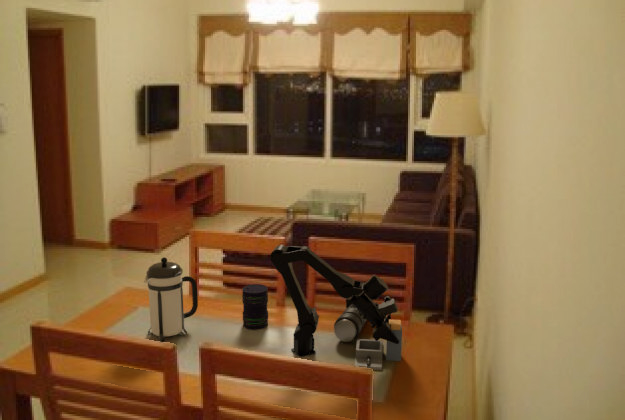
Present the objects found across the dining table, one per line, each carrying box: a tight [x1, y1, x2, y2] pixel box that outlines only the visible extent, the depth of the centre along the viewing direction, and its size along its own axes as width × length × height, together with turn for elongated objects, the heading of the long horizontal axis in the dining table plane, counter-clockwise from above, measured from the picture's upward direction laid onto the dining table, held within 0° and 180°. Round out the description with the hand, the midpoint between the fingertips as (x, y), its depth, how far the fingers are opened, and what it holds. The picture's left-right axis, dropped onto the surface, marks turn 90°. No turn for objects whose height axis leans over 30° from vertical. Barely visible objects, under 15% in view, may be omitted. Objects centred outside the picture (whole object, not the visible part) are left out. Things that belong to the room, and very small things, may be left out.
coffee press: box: [144, 257, 199, 342], centre depth 222 cm, size 17×16×30 cm
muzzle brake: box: [333, 295, 375, 343], centre depth 227 cm, size 10×28×10 cm, turn 162°
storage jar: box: [241, 283, 269, 331], centre depth 232 cm, size 10×10×15 cm
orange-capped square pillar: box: [385, 318, 403, 362], centre depth 205 cm, size 5×5×13 cm
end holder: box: [354, 338, 384, 371], centre depth 207 cm, size 9×20×4 cm, turn 173°
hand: (398, 339), depth 205 cm, fingers closed on orange-capped square pillar, 5 cm apart
